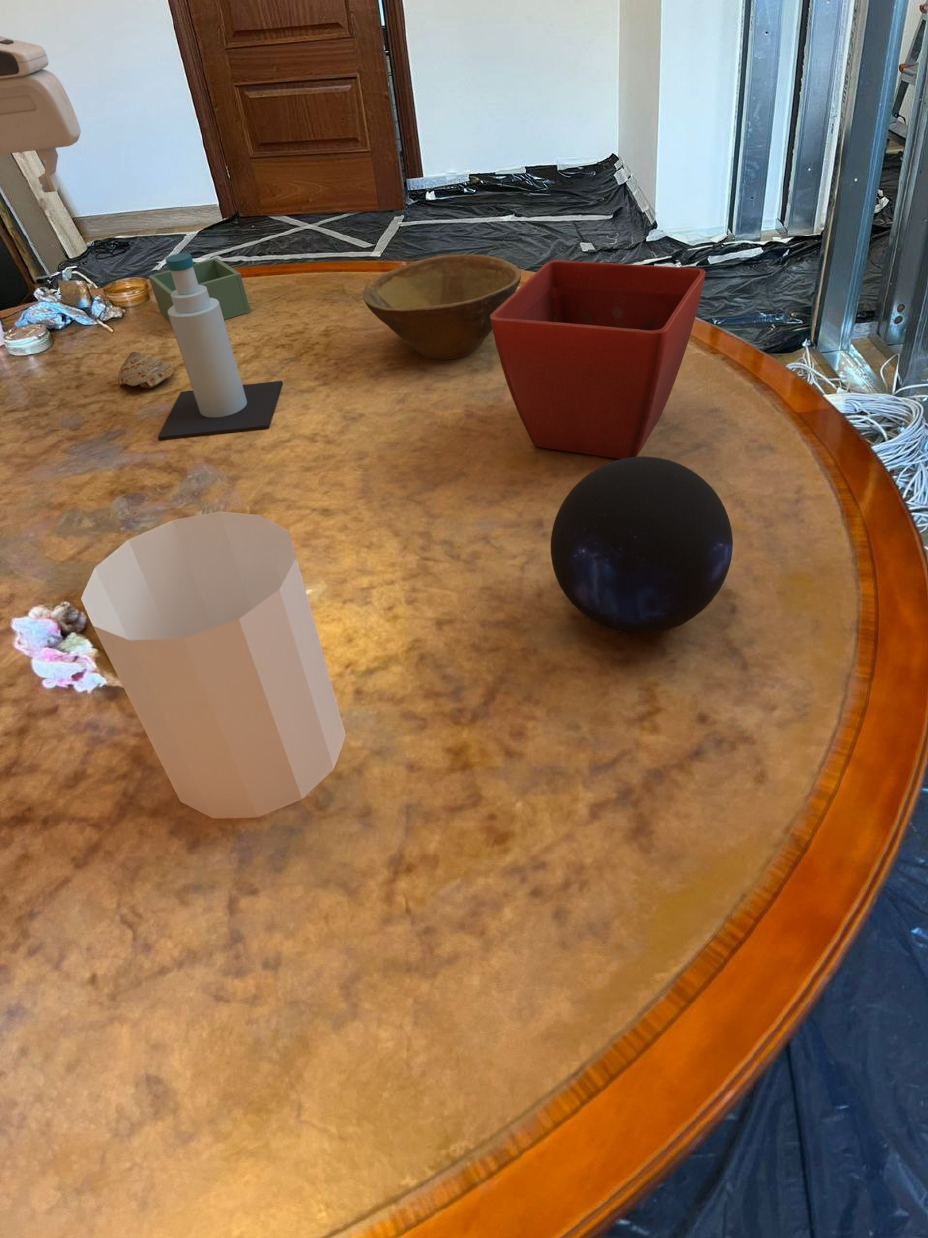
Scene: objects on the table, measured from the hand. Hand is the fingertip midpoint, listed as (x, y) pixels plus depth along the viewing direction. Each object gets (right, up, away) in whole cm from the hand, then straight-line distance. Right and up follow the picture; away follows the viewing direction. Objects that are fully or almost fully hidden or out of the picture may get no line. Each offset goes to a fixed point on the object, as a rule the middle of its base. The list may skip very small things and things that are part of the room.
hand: (14, 195), depth 104 cm
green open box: (+9, +3, +48) cm, 48 cm away
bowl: (+52, -10, +25) cm, 59 cm away
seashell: (+7, -16, +26) cm, 31 cm away
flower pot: (+71, -29, +1) cm, 77 cm away
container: (+38, -62, -34) cm, 80 cm away
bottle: (+21, -22, +16) cm, 34 cm away
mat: (+21, -22, +16) cm, 34 cm away
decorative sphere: (+70, -51, -26) cm, 91 cm away
